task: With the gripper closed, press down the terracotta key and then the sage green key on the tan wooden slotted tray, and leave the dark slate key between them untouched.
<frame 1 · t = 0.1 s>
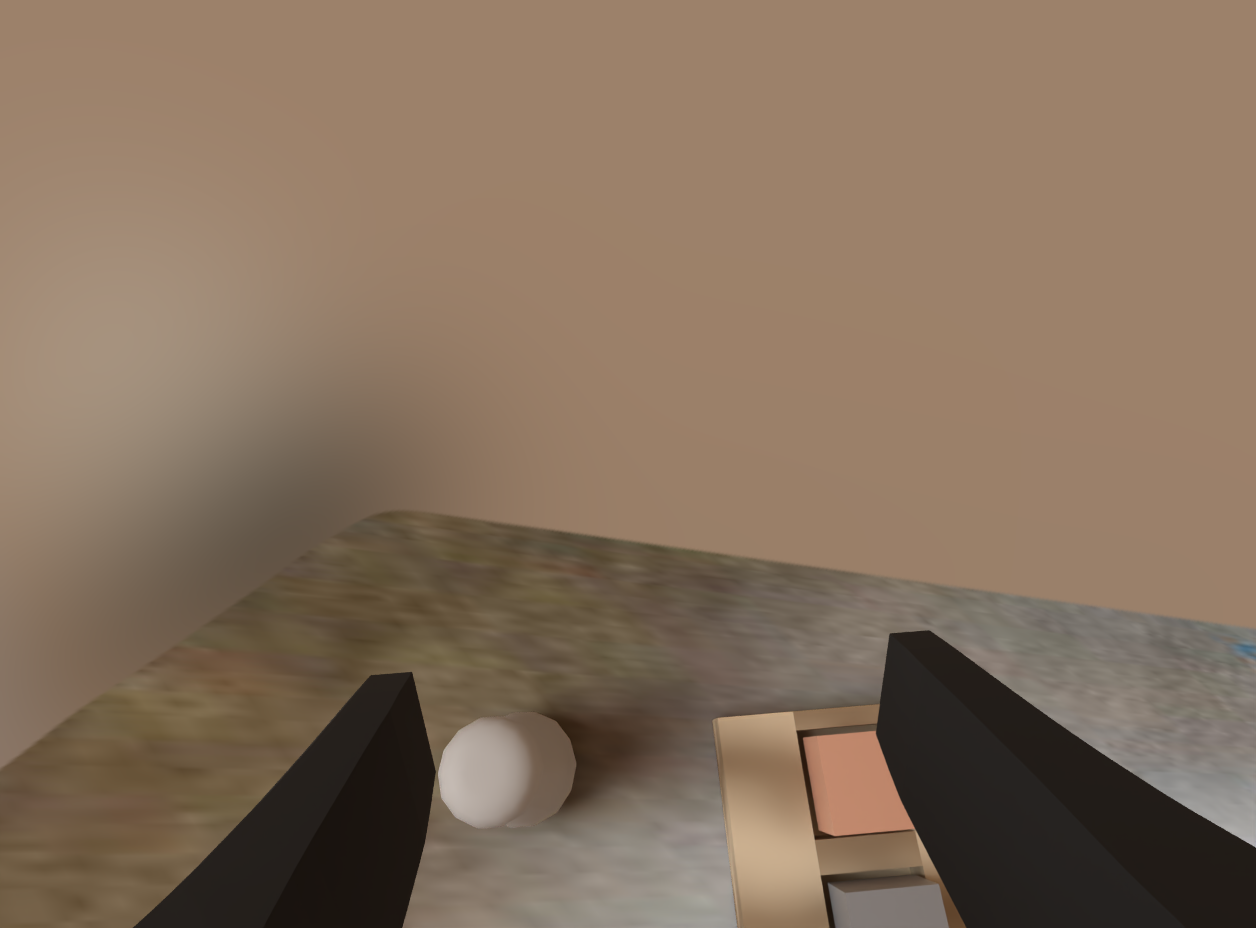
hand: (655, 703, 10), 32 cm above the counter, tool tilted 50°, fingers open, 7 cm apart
tan wooden slotted tray: (867, 921, 36), on the counter
key terracotta: (860, 779, 35), point 4 cm above the counter, slide at 0.0 cm
salt shaker: (529, 767, 39), on the counter
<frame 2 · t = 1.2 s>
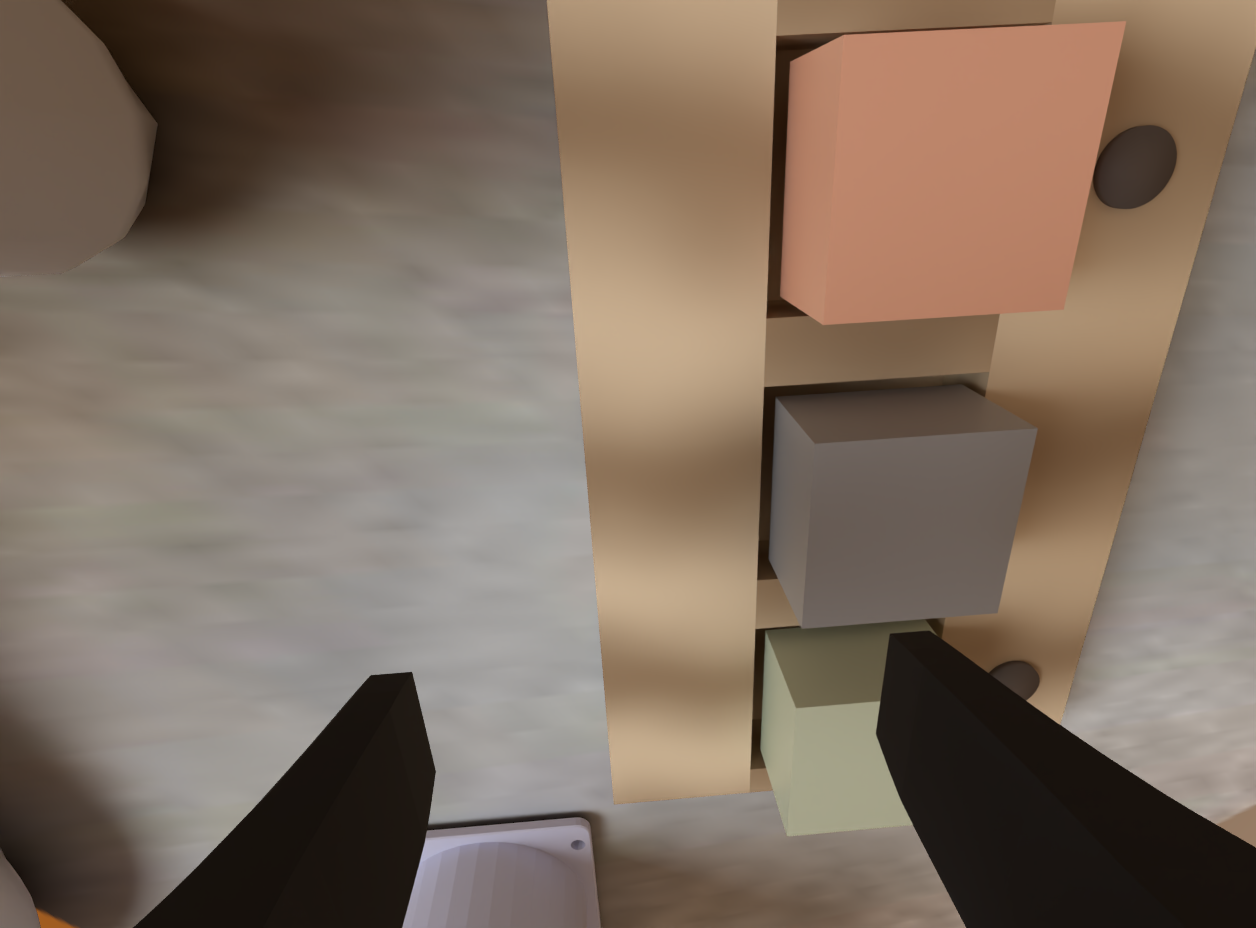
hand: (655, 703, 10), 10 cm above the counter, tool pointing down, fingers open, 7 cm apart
tan wooden slotted tray: (832, 444, 19), on the counter
key terracotta: (923, 182, 13), point 4 cm above the counter, slide at 0.0 cm
key slate: (884, 502, 16), point 4 cm above the counter, slide at 0.0 cm
key sage: (857, 724, 19), point 4 cm above the counter, slide at 0.0 cm
salt shaker: (68, 126, 15), on the counter
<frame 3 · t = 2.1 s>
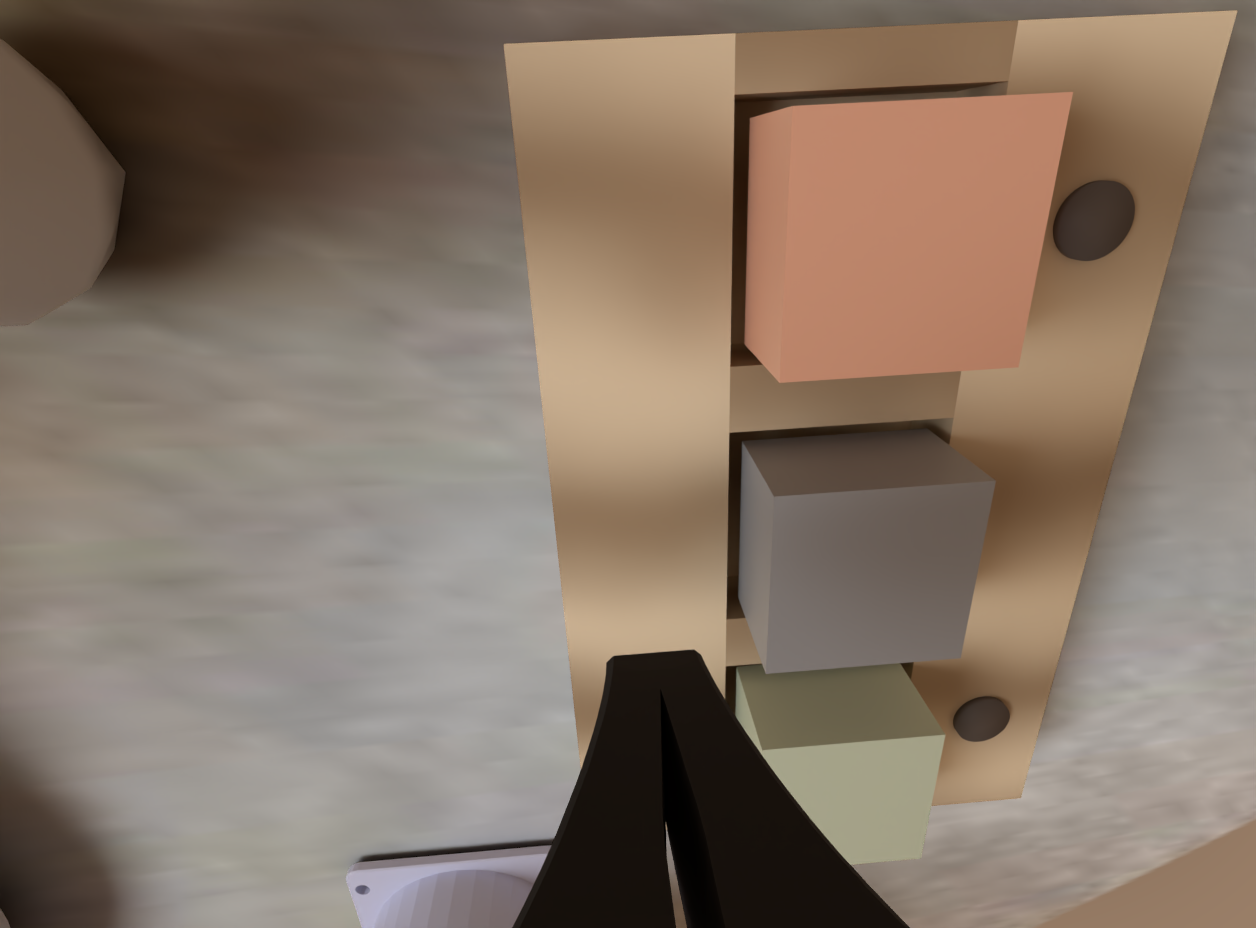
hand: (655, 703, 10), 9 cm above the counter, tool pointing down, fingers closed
tan wooden slotted tray: (803, 482, 19), on the counter
key terracotta: (880, 239, 13), point 4 cm above the counter, slide at 0.0 cm
key slate: (848, 547, 16), point 4 cm above the counter, slide at 0.0 cm
key sage: (827, 760, 19), point 4 cm above the counter, slide at 0.0 cm
salt shaker: (36, 174, 15), on the counter
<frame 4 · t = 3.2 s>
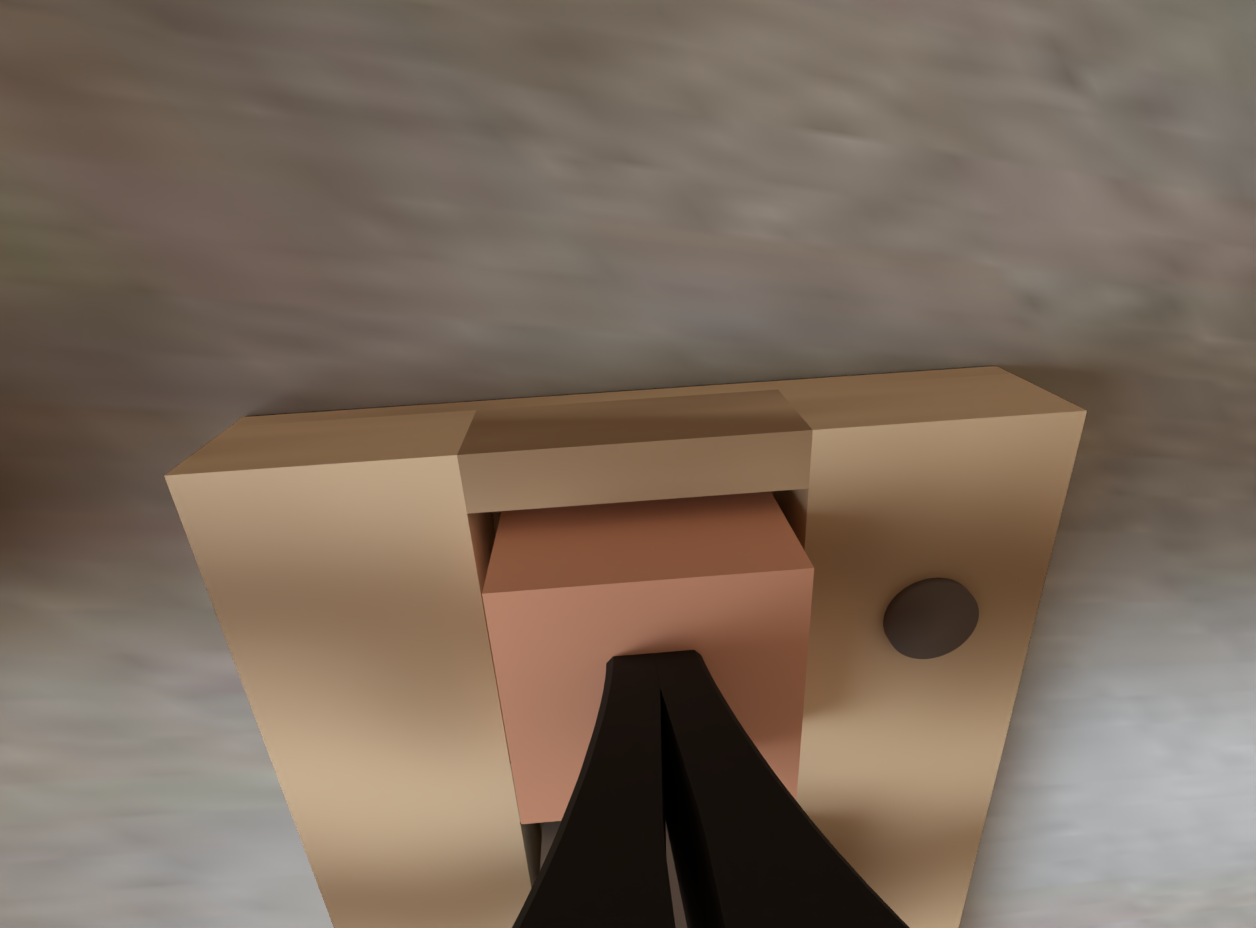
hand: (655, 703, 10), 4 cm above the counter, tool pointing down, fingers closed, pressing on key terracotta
tan wooden slotted tray: (648, 796, 17), on the counter
key terracotta: (646, 642, 12), point 3 cm above the counter, slide at 1.0 cm, touching gripper
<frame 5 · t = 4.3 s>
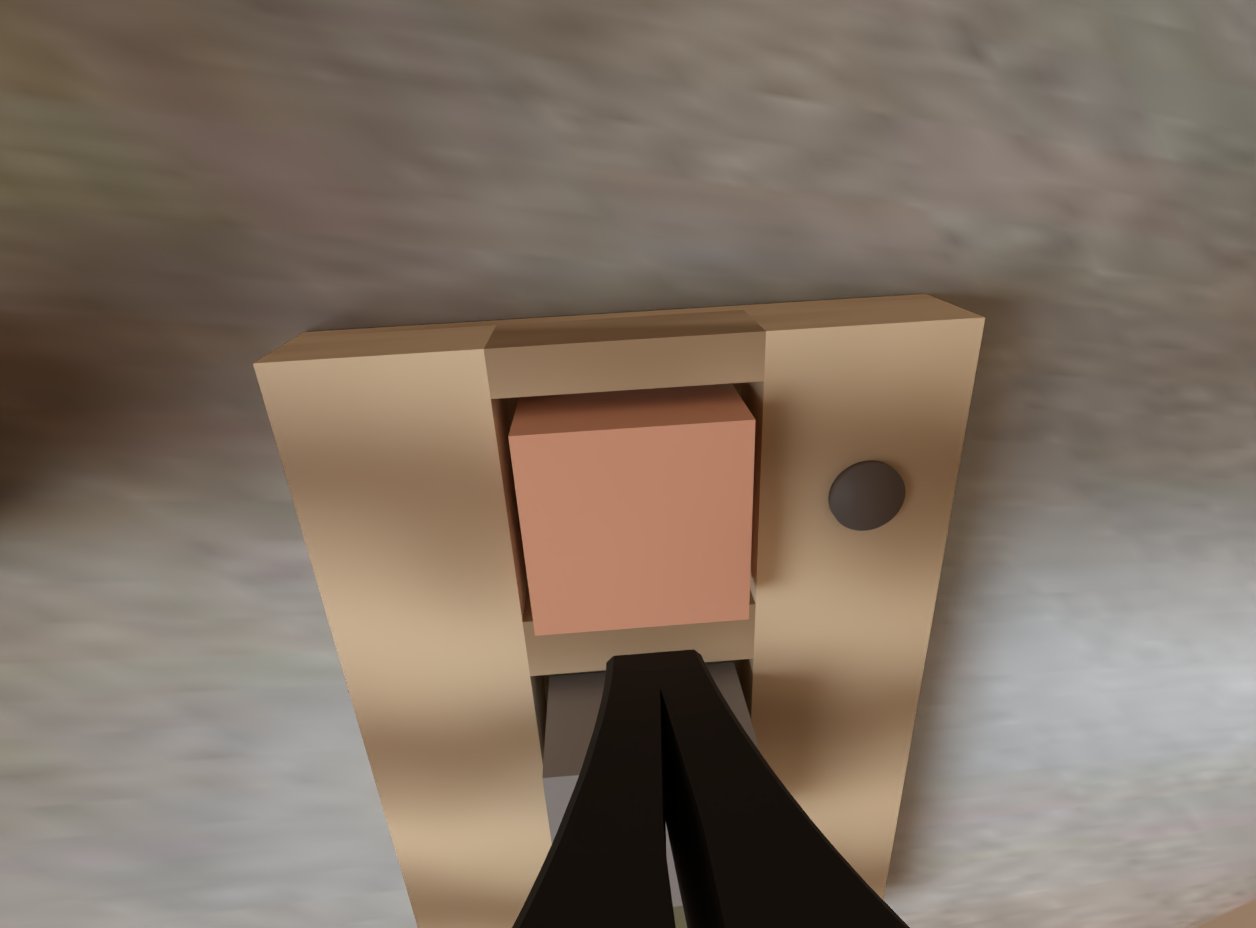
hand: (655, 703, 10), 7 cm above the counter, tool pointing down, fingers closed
tan wooden slotted tray: (639, 680, 19), on the counter
key terracotta: (633, 500, 15), point 2 cm above the counter, slide at 1.6 cm
key slate: (650, 785, 16), point 4 cm above the counter, slide at 0.0 cm
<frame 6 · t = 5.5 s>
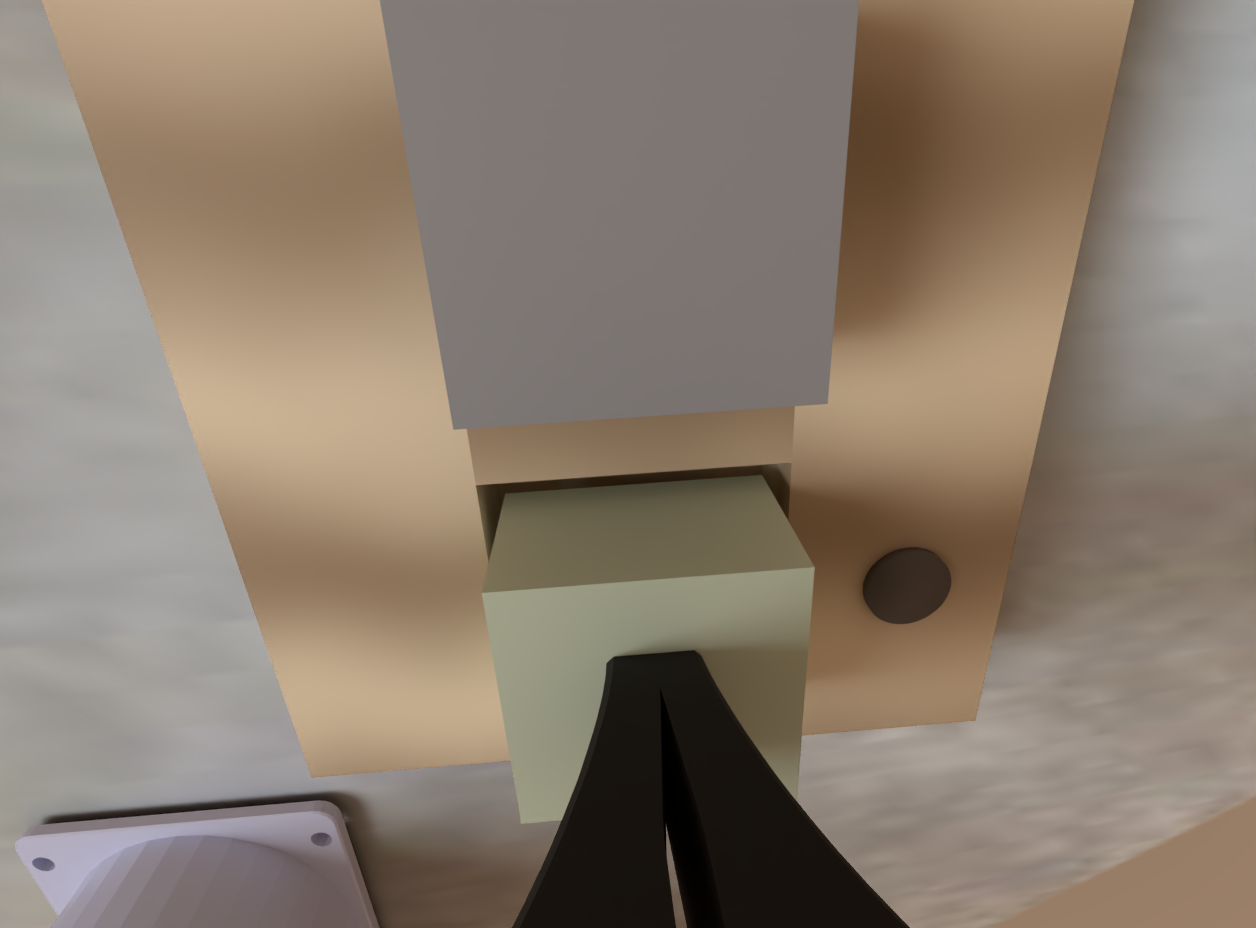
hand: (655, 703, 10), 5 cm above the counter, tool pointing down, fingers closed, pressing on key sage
tan wooden slotted tray: (613, 195, 12), on the counter
key slate: (625, 208, 9), point 4 cm above the counter, slide at 0.0 cm
key sage: (646, 642, 11), point 4 cm above the counter, slide at 0.0 cm, touching gripper
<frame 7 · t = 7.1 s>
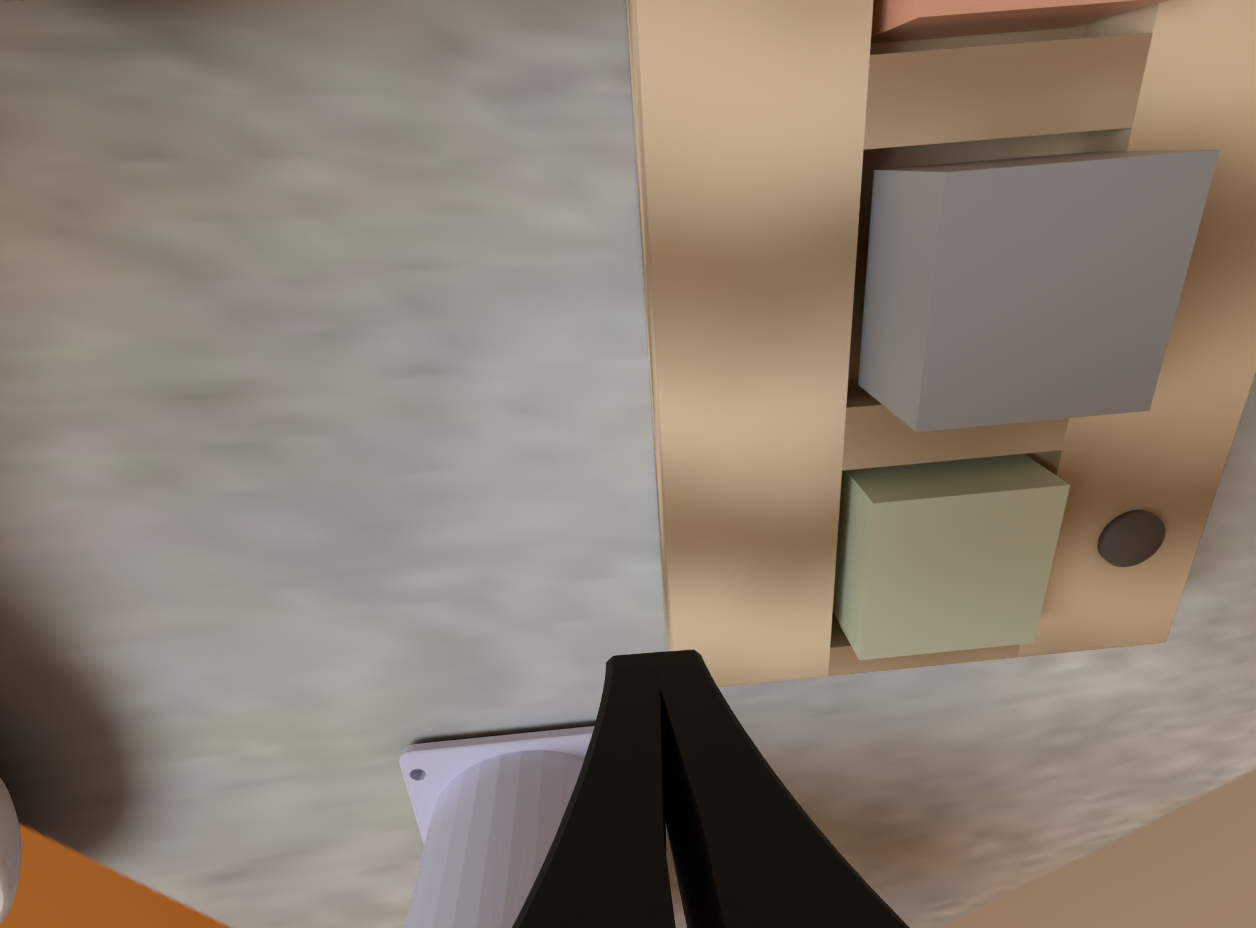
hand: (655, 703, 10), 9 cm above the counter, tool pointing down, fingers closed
tan wooden slotted tray: (924, 262, 17), on the counter
key slate: (1008, 287, 13), point 4 cm above the counter, slide at 0.0 cm
key sage: (930, 545, 18), point 2 cm above the counter, slide at 1.6 cm
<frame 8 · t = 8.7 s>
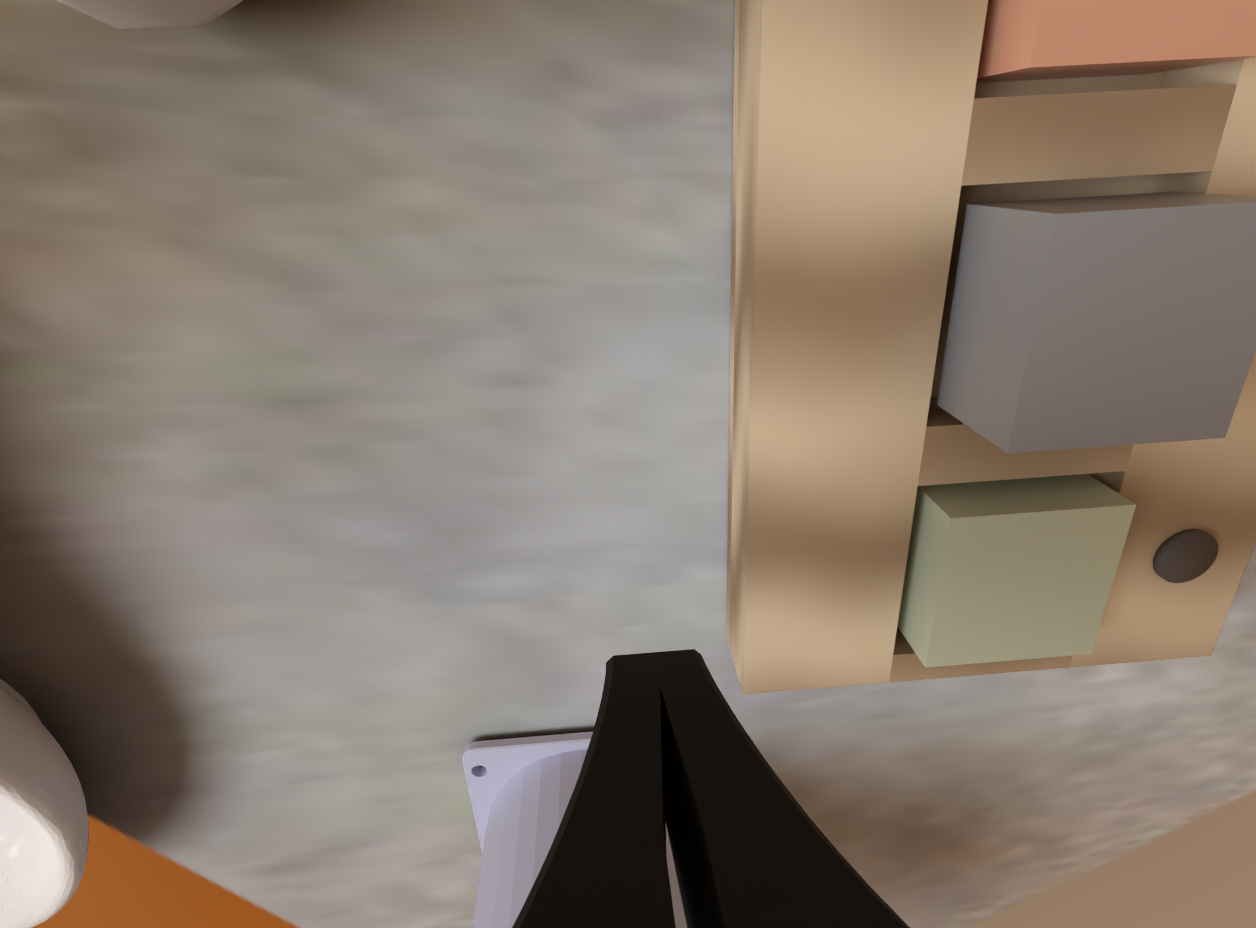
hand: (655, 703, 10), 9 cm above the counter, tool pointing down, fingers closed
tan wooden slotted tray: (997, 288, 17), on the counter
key slate: (1093, 318, 14), point 4 cm above the counter, slide at 0.0 cm
key sage: (992, 558, 18), point 2 cm above the counter, slide at 1.6 cm
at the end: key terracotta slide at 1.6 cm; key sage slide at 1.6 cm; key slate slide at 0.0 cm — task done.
